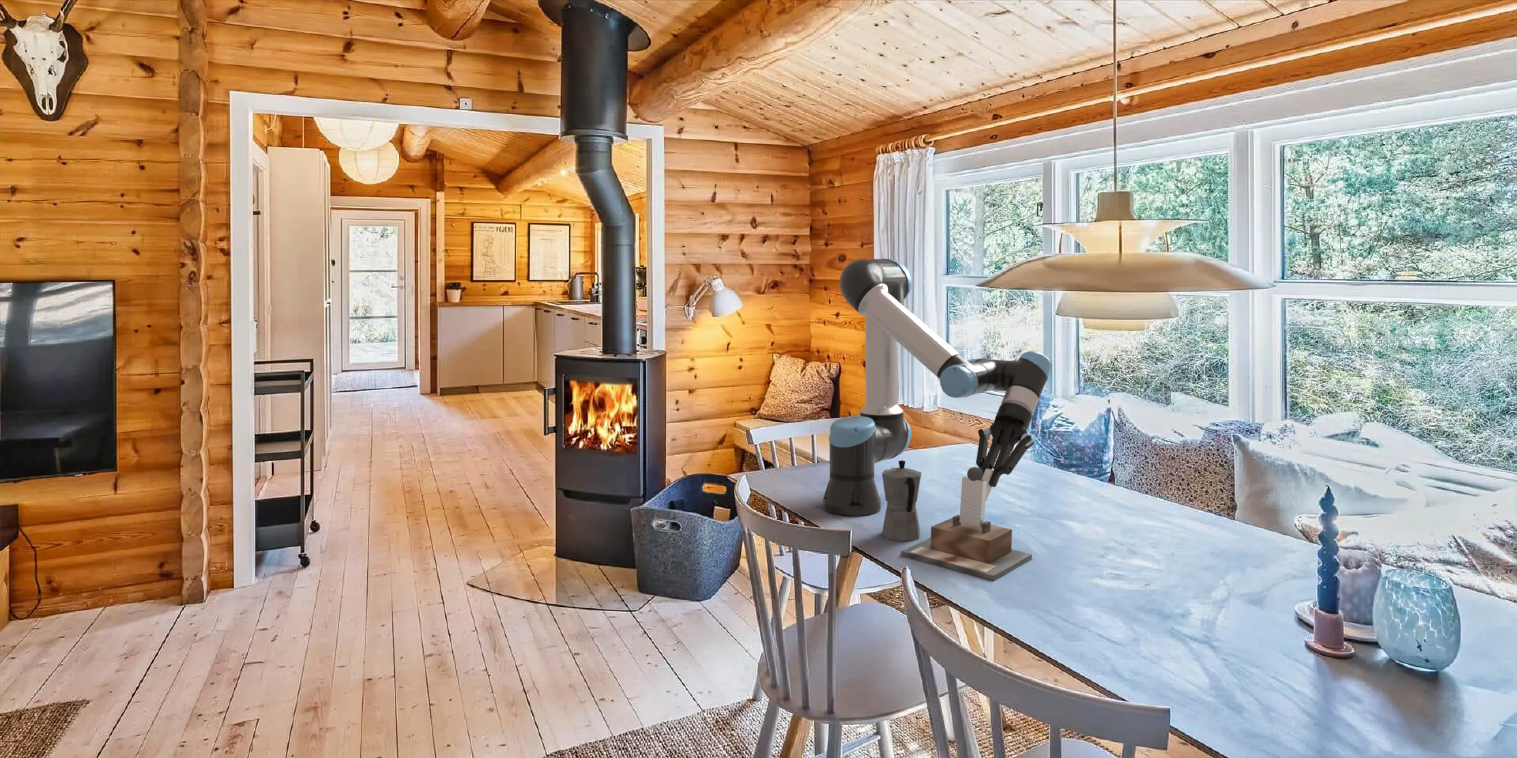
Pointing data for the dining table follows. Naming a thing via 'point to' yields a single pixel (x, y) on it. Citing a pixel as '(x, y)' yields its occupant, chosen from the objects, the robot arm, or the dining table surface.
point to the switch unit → (969, 549)
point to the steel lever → (973, 498)
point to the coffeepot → (901, 503)
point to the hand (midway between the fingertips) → (981, 497)
